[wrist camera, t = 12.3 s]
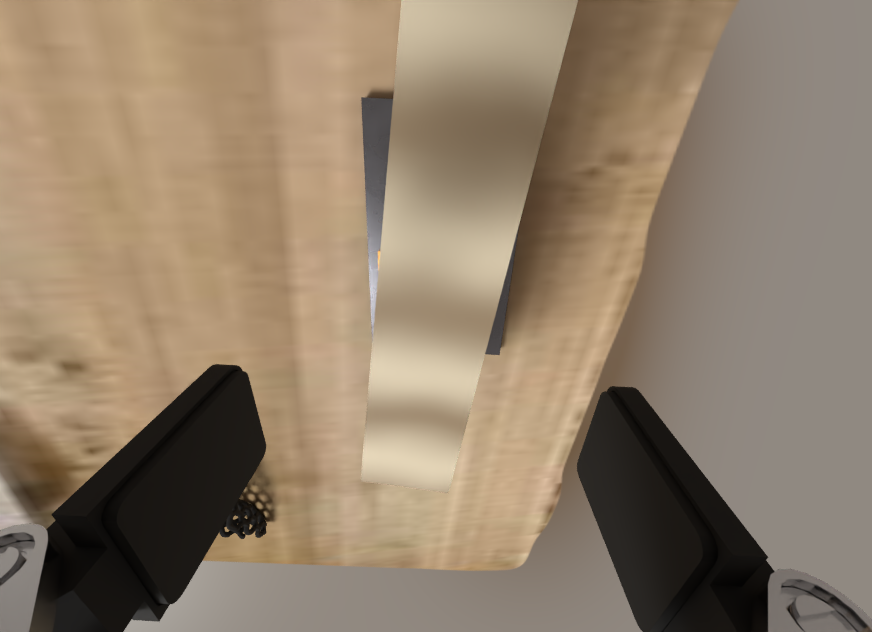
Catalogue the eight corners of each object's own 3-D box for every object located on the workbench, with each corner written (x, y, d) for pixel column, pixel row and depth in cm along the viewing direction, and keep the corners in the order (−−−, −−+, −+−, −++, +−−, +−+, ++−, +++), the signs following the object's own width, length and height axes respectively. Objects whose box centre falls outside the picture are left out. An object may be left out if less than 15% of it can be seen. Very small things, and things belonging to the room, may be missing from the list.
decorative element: (278, 520, 46) (257, 568, 41) (243, 522, 46) (217, 569, 41) (213, 389, 36) (174, 429, 31) (170, 393, 37) (123, 433, 31)
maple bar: (422, 28, 16) (405, -49, 10) (531, 49, 17) (581, -14, 10) (381, 404, 27) (360, 481, 21) (448, 414, 27) (448, 493, 21)
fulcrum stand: (364, 99, 24) (334, 80, 17) (533, 107, 24) (564, 91, 17) (374, 342, 33) (356, 387, 26) (498, 349, 32) (509, 396, 26)
